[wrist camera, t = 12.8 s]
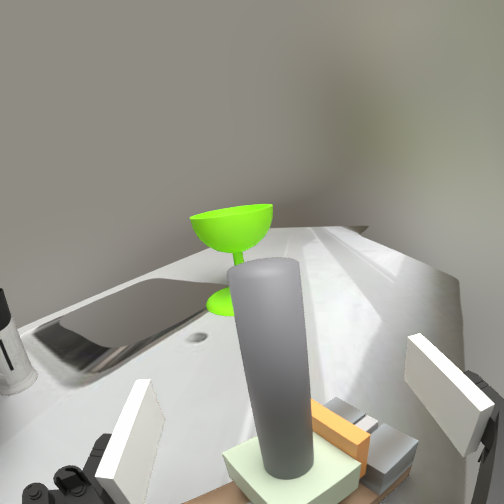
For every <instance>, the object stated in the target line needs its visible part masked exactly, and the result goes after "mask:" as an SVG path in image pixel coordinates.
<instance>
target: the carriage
mask: <svg viewBox="0 0 504 504" xmlns="http://www.w3.org/2000/svg"><path fill="white" fill-rule="evenodd" d="M227 277H228V283H229V289H230V294H231V300H232V306H233V311H234V317H235V322H236V328H237V333H238V339H239V344H240V350H241V355H242V360H243V365H244V371H245V376H246V381H247V386H248V391H249V396H250V401H251V406H252V411H253V416H254V421H255V426H256V431H257V436H255V437H253V438H251V439H249V440H247V441H246V442H244V443H241V444H239V445H237V446H235V447H233V448H231V449H229V450H227V451H225V452H223V453H222V455H223V458H224V461H225V464H226V467H227V470H228V473H229V476H230V478H231V479H232V480H233V481H234V482H235V484H236V485H237V486H238V487H239V488H240V489H241V490H242V492H243V493H244V494H245V495H246V496H247V497H248V498H249V499H250V501H251V502H252V503H253V504H338V503H339V502H340V501H342V500H343V499H344V498H346V497H347V496H348V495H349V494H351V493H352V492H353V491H355V490H356V489H357V488H358V484H359V477H360V470H361V463H360V462H358V461H357V460H355V459H354V458H352V457H350V456H349V455H347V454H346V453H344V452H343V451H341V450H340V449H338V448H337V447H335V446H334V445H332V444H331V443H329V442H328V441H327V440H325V439H324V438H322V437H321V436H319V435H318V434H317V433H315V432H314V431H313V428H312V410H311V394H310V379H309V366H308V353H307V341H306V329H305V318H304V307H303V297H302V287H301V277H300V268H299V262H298V261H297V260H294V259H291V258H281V257H276V258H263V259H257V260H252V261H247V262H244V263H241V264H238V265H236V266H234V267H232V268H230V269H229V270H228V271H227Z"/></svg>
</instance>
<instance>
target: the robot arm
mask: <svg viewBox="0 0 504 504" xmlns="http://www.w3.org/2000/svg"><path fill="white" fill-rule="evenodd" d="M404 380H405V381H406V383H407V384H408V385H409V386H410V388H411V389H412V390H413V392H414V393H415V394H416V395H417V397H418V398H419V399H420V401H421V402H422V403H423V405H424V406H425V407H426V408H427V410H428V411H429V412H430V414H431V415H432V416H433V418H434V419H435V420H436V422H437V423H438V424H439V426H440V427H441V428H442V430H443V431H444V432H445V434H446V435H447V436H448V438H449V439H450V440H451V442H452V443H453V444H454V446H455V447H456V449H457V450H458V451H459V453H460V454H461V455H462V457H465V456H467V455H469V454H470V453H473V452H475V451H476V450H477V448H478V446H479V443H480V442H482V443H483V444H484V445H485V447H484V449H483V451H482V453H481V456H480V458H479V460H478V462H480V460H481V463H480V468H479V473H478V477H477V482H476V486H475V491H474V495H473V498H472V502H471V504H504V399H503V398H502V397H501V396H500V395H499V394H498V393H497V392H496V391H495V390H494V389H493V388H491V386H489V385H488V384H487V383H486V382H485V381H483V379H482V378H481V377H479V375H477V374H475V373H473V372H471V371H469V370H468V371H466V372H463V373H462V372H461V371H460V370H459V369H458V368H457V367H456V366H455V365H454V364H453V363H452V362H451V361H450V360H449V359H447V358H446V357H445V356H444V355H443V354H442V353H441V352H440V351H439V350H438V349H437V348H436V347H435V346H433V345H432V344H431V343H430V342H429V341H428V340H427V339H426V338H425V337H424V336H422V335H421V334H420V333H419V334H416V335H412V336H409V337H408V341H407V354H406V364H405V374H404ZM164 423H165V417H164V415H163V412H162V409H161V407H160V404H159V402H158V399H157V396H156V393H155V391H154V388H153V385H152V382H151V380H150V379H144V380H136V382H135V384H134V386H133V389H132V391H131V393H130V395H129V397H128V400H127V402H126V404H125V406H124V409H123V411H122V413H121V415H120V418H119V420H118V422H117V424H116V427H115V429H114V431H113V434H103V435H102V436H101V437H99V438H98V439H97V440H96V442H95V444H94V447H93V450H92V451H91V453H90V457H88V460H87V462H86V464H85V466H84V468H83V471H82V470H81V469H80V468H79V467H76V466H70V465H69V466H65V467H62V468H61V469H59V470H58V471H57V472H56V473H55V475H54V478H53V479H54V483H55V485H56V486H57V487H58V488H59V490H48V489H47V487H46V486H45V485H44V484H41V483H32V484H30V485H28V486H27V487H26V488H25V489H24V490H23V494H22V504H144V503H145V499H146V494H147V490H148V486H149V482H150V478H151V474H152V470H153V466H154V462H155V458H156V454H157V450H158V446H159V442H160V438H161V434H162V430H163V426H164Z"/></svg>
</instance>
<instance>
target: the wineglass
mask: <svg viewBox="0 0 504 504" xmlns="http://www.w3.org/2000/svg"><path fill="white" fill-rule="evenodd" d="M272 217H273V205H272V204H258V205H257V204H256V205H247V206H239V207H232V208H226V209H220V210H215V211H210V212H205V213H201V214H197V215H195V216H192V217H190V220H191V224H192V227H193V230H194V231H195V233H196V234H197V236H198V238H199V239H200V240H201V241H202V242H204V243H205V244H206V245H207V246H209V247H211V248H213V249H215V250H217V251H220V252H226V253H233V259H234V265H235V266H236V265H238V264H241V263H244V259H243V253H242V251H245V250H247V249H249V248H251V247H253V246H255V245H256V244H257V243H258V242H259V241H260V240H261V239H263V238H264V237H265V235H266V233H267V231H268V230H269V228H270V225H271V221H272ZM206 307H207V310H209V311H210V312H211V313H214V314H217V315H222V316H234V311H233V306H232V300H231V294H230V289H229V287H226V288H224V289H221V290H219V291H217V292H216V293H214V294H213V295H212V296H211V297H210V298H209V299H208V301H207V303H206Z"/></svg>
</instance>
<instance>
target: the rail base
mask: <svg viewBox="0 0 504 504" xmlns="http://www.w3.org/2000/svg"><path fill="white" fill-rule="evenodd" d="M323 406H324V407H325V408H327V409H329V410H330V411H332V412H333V413H335V414H337V415H338V416H340V417H342V418H343V419H345V420H347V421H348V422H350V423H352V424H353V425H355V424H357V423H358V422H359V421H360V420H362V419H363V418H364V417H365V414H366V413H364V412H362V411H360V410H359V409H357V408H355V407H353V406H351V405H350V404H348V403H346V402H344V401H342V400H341V399H339V398H337V397H335V398H334V399H332V400H331V401H329V402H328V403H326V404H325V405H323ZM418 442H419V441H418V440H416V439H414V438H412V437H410V436H408V435H406V434H404V433H402V432H400V431H398V430H396V429H394V428H392V427H390V426H389V425H387V424H385V423H384V424H382V425H381V426H380V427H379V428H378V429H377V430H375V431H374V432H373V433H372V434H371V436H370V444H369V452H368V459H367V466H366V472H365V475H364V476H363V477H361V478H360V479H359V484H358V488H357V489H356V490H355V491H353V492H352V493H351V494H349V495H348V496H347V497H346V498H344V499H343V500H342V501H340V502H339V503H338V504H378V503H379V502H381V501H382V500H383V499H384V498H385V497H386V496H387V495H388V494H389V493H390V492H391V491H393V490H394V489H395V488H396V487H397V486H398V485H399V484H400V483H401V482H402V481H403V480H404V479H405V478H406V477H407V476H408V475H409V473H410V469H411V466H412V463H413V460H414V456H415V453H416V449H417V445H418ZM182 504H253V503H252V502H251V501H250V499H249V498H248V497H247V496H246V495H245V494H244V493H243V492H242V490H241V489H240V488H239V487H238V486H237V485H236V484H235V482H234V481H232V482H230V483H228V484H226V485H224V486H221V487H219V488H217V489H215V490H213V491H210V492H208V493H206V494H204V495H201V496H199V497H197V498H194V499H192V500H189V501H187V502H184V503H182Z"/></svg>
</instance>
